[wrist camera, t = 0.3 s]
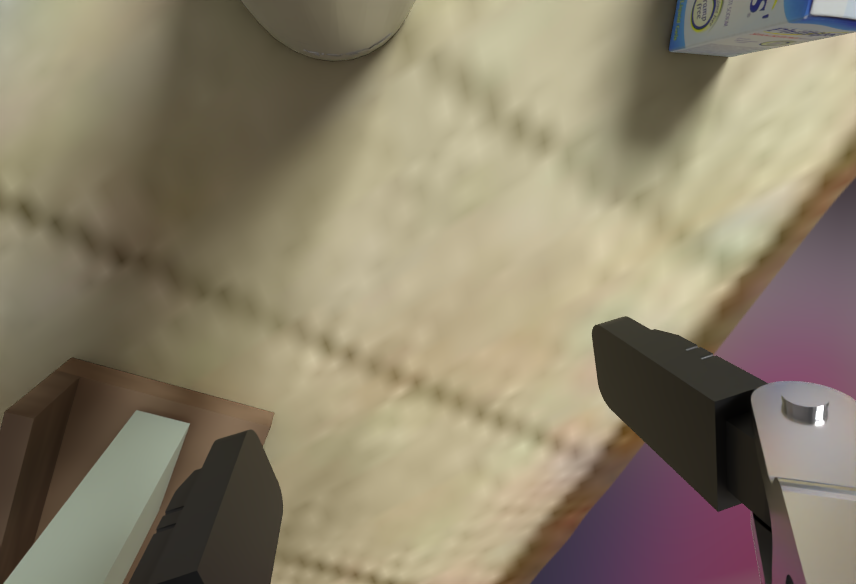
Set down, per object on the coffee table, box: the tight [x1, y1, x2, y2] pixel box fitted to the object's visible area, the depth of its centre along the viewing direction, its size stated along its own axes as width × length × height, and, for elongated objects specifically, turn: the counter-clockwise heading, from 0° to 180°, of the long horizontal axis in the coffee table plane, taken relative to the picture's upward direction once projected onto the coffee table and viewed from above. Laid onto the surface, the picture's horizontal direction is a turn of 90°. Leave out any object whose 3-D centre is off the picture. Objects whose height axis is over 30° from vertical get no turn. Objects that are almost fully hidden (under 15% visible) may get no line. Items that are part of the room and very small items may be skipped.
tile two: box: [3, 410, 190, 584], centre depth 22 cm, size 3×7×12 cm, turn 155°
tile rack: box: [0, 358, 274, 584], centre depth 28 cm, size 12×24×6 cm, turn 155°
